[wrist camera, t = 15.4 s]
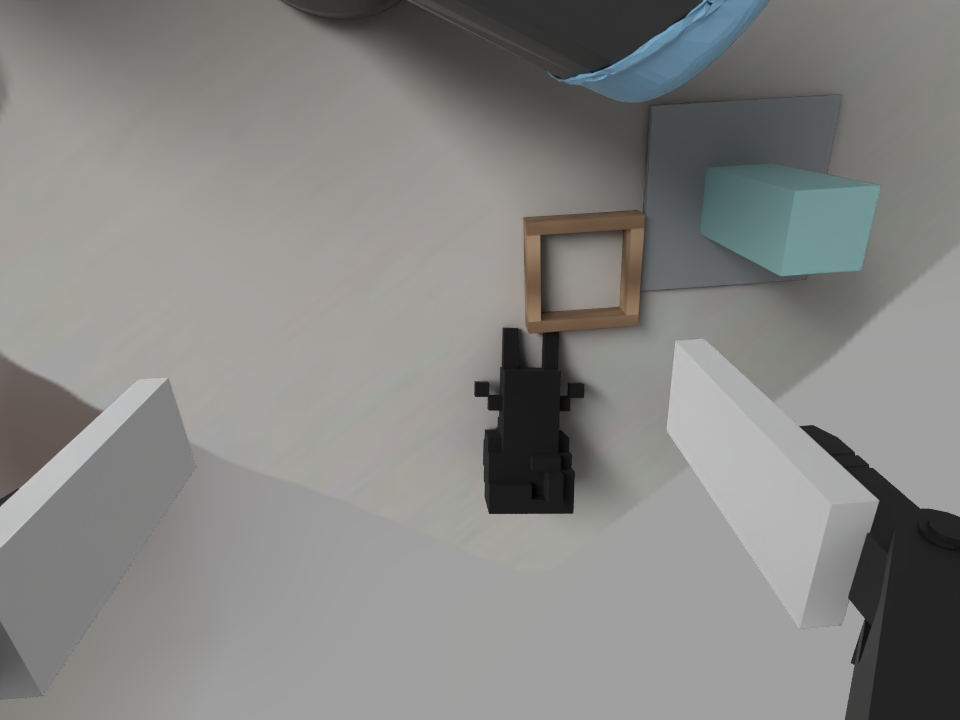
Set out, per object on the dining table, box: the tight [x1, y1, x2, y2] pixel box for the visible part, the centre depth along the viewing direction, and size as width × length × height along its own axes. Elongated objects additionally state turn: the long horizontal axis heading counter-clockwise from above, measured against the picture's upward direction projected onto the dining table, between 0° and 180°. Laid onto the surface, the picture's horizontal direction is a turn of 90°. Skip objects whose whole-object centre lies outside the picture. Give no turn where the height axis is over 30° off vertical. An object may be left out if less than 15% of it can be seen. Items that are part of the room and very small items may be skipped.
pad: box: [640, 95, 842, 291], centre depth 45 cm, size 14×14×1 cm
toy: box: [474, 328, 584, 514], centre depth 49 cm, size 9×8×15 cm
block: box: [700, 163, 881, 276], centre depth 39 cm, size 5×5×12 cm
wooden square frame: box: [523, 210, 645, 333], centre depth 46 cm, size 9×9×2 cm
